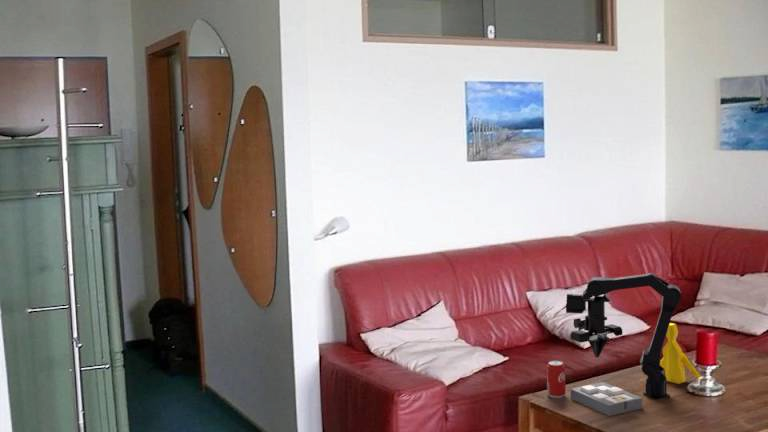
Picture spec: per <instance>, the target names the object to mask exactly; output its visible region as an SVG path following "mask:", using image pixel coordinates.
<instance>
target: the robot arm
mask: <svg viewBox="0 0 768 432" xmlns="http://www.w3.org/2000/svg"><path fill="white" fill-rule="evenodd" d="M642 287H650V288H651V289H652V290H654V291H655V292H657V293H658V294H659V295H660V296H661V308H660V312H659V315H658V319H657V322H656V325H655V329H654V332H653V336H652V338H651V343H650V345H649V347H648V348H647V350H646V349H644V348H643V350H642V356H641V357H640V359H639V363H640V364H639V365H640V366H641V371H642V373H643V374H644V375H645V376H647V377H646V379H645V381H646V382H645V392H643V393H642V394H643V395H644V396H646V397H648V398H651V399H653V400H659V399H665V398H668V397H670V396H671V394H669V393H668V392H667V391H668V390H667V385H668V384H667V381H666V376H665V369H664V368H663V366H660V361H661V354H662V353H661V352H662V350H663V345H664V343H665V339H666V333H667V330H668V326H669V323H671V319H672V317H673V314H674V312H675V311H676V309H677V308H678V306H679V304H680V303H681V300H682V293H681V290H680V287H679V286H678V285H676V284H671V283H669V282H667V281H665V280H664V279H662V278H661V277H659V276H657V275H656V274H655V273H653V272H648V273H643V274H635V275H630V276H629V275H628V276H627V275H626V276H621V277H620V276H619V277H606V276H604V277H603V276H593V277H591V278H590V279H589V280H588V281H587V287H586V288H585V290H583V293H581V294H579V293H578V294H574V293H566V303H565V313H566V314H583V313H584V311H587V315H585V317H584V319H583V320H582V319H581V318H579V317H578V318H575V319H573V327H574V329H578V330H573V331H571V332H570V338H569V339H570V340H572V341H575V342H577V343H586V342H588V343H589V345H590V347H591V349H592V352H593V354H594V357H595V358H599V357H600V355H601V353H602V351H603V349H604V347H605V346H606V343H608V341H609V340H610V338H611V337H608V335H609V334H614V336H615V337H618V336H623V328H622V327H621V326H620V325H615V324H606V321H608V316H606V315H605V314H606V311H605V310H606V309H605V308H606V307H605V303H609V302H610V301H611V299H610V297H609V296H608V295H607V294H608V293H611V292H614V291H617V290H618V291H619V290H627V289H635V288H642Z"/></svg>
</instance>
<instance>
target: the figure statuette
mask: <svg viewBox="0 0 768 432" xmlns="http://www.w3.org/2000/svg"><path fill="white" fill-rule="evenodd" d="M678 329H679V328H678V326H677V324H676V323H672V322H670V323H669V326H668V330H667V333H666V336H665V338H666V340H667V342H666V343H665V345H664V347H662V354H663V355H662V356H663V357H661V358H660V366H662V367H663V368H664V369H665V376H666V382H668V383H673V384H677V385H680V384H682V383H685V382H687V380H686V372H685V368H684V366H685V367H686V368H687V369H688V370H689V372H690V373H691V374H692V375H693V376H694V377H695V378H696V379H698V378H700V377H701V375H700V374H699V372H698V371H697V369H696V368H695V367H694V365H692V364H691V362H690V360H689V359H688V357H687V355H686V354H685V353H684V352H683V350H682V348H681V345H679V343H678V342H677V337H678V334H679V330H678Z"/></svg>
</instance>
